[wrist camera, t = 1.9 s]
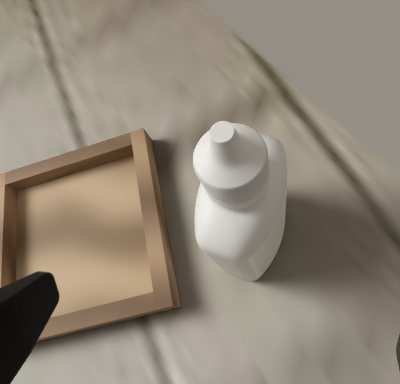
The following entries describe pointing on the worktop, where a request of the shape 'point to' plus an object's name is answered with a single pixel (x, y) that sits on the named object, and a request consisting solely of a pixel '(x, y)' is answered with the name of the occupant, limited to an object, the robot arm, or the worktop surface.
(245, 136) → the eye dropper bottle
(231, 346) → the worktop surface
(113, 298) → the shallow wooden tray
